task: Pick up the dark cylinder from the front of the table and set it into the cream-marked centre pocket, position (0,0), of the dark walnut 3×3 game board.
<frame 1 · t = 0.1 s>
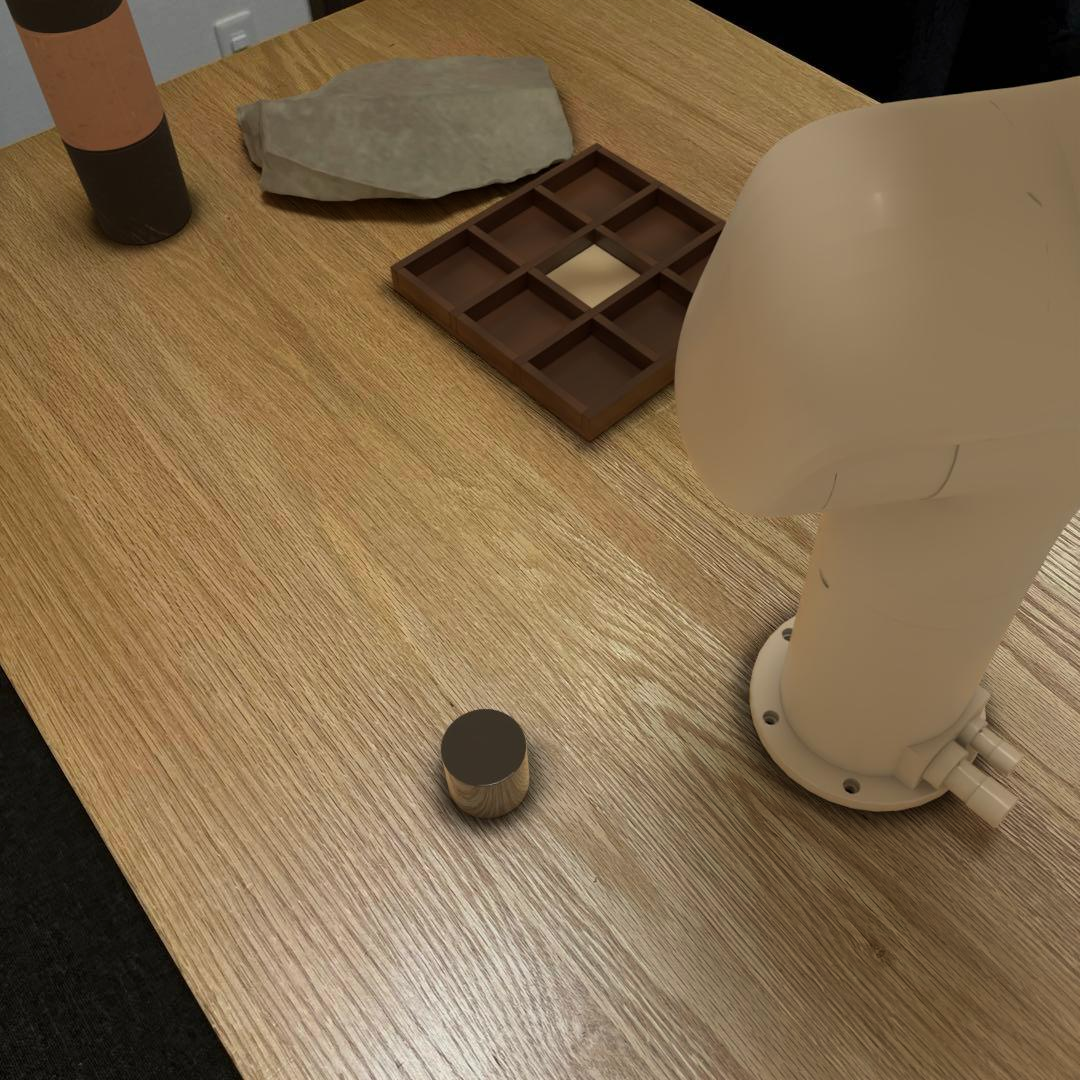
dark cylinder: (488, 780, 64), on the table
travel mug: (147, 217, 94), on the table
rock: (407, 151, 98), on the table
board: (593, 290, 87), on the table
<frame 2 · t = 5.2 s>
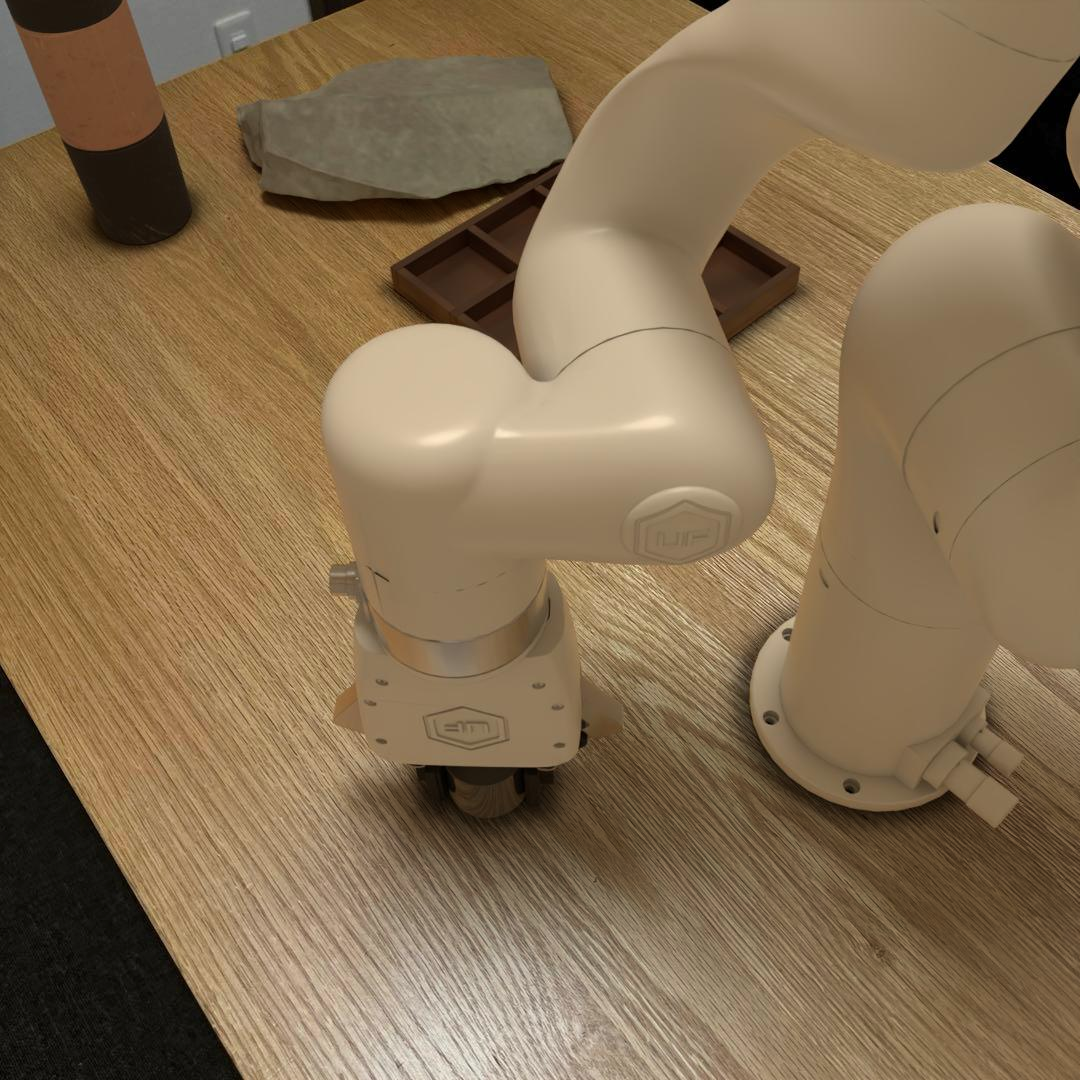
hand: (488, 777, 64), 0 cm above the table, tool pointing down, fingers closed on dark cylinder, 4 cm apart
dark cylinder: (488, 780, 64), on the table, touching gripper
everything else where it was.
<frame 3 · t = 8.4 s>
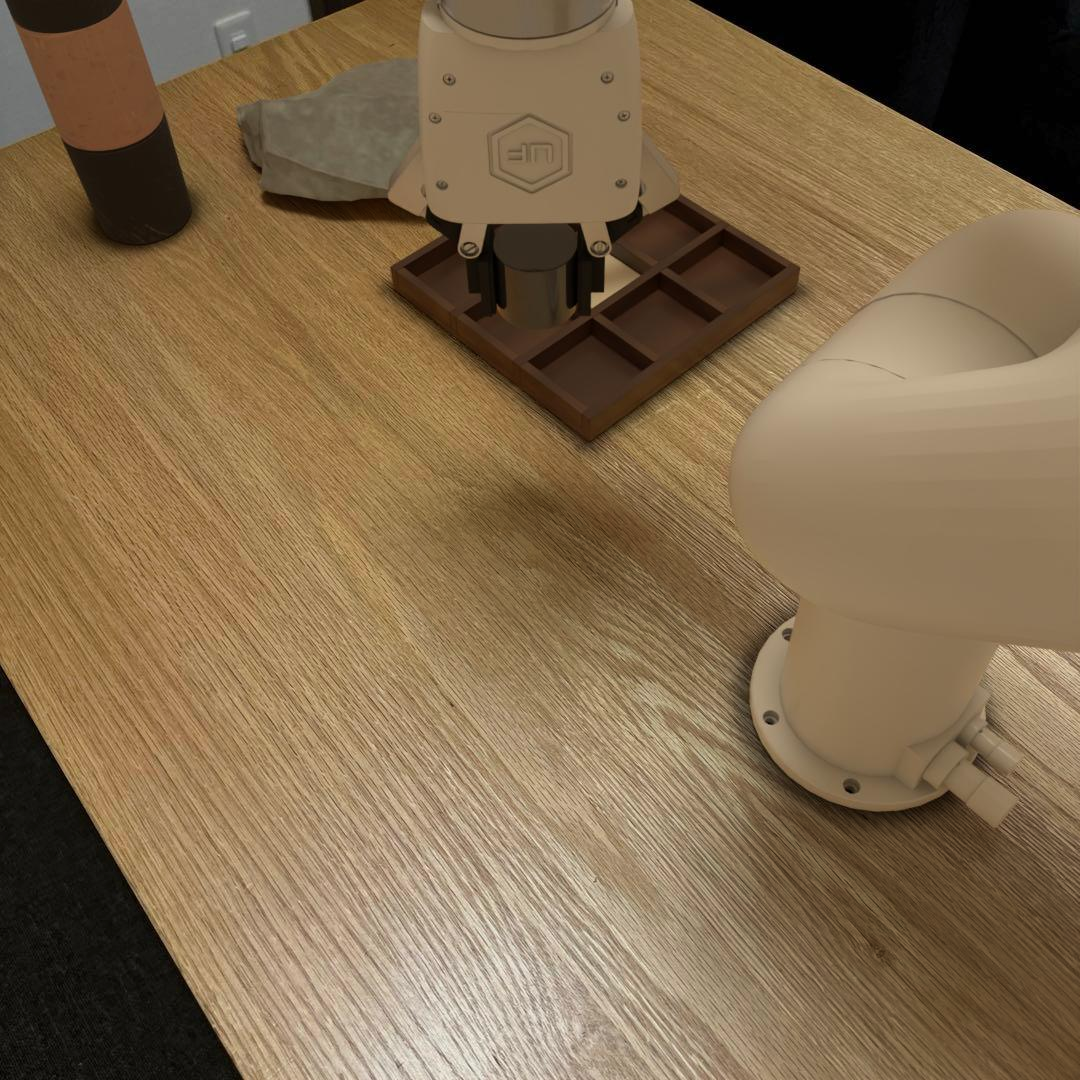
hand: (537, 296, 64), 16 cm above the table, tool pointing down, fingers closed on dark cylinder, 4 cm apart
dark cylinder: (537, 301, 64), point 15 cm above the table, touching gripper
everything else where it was.
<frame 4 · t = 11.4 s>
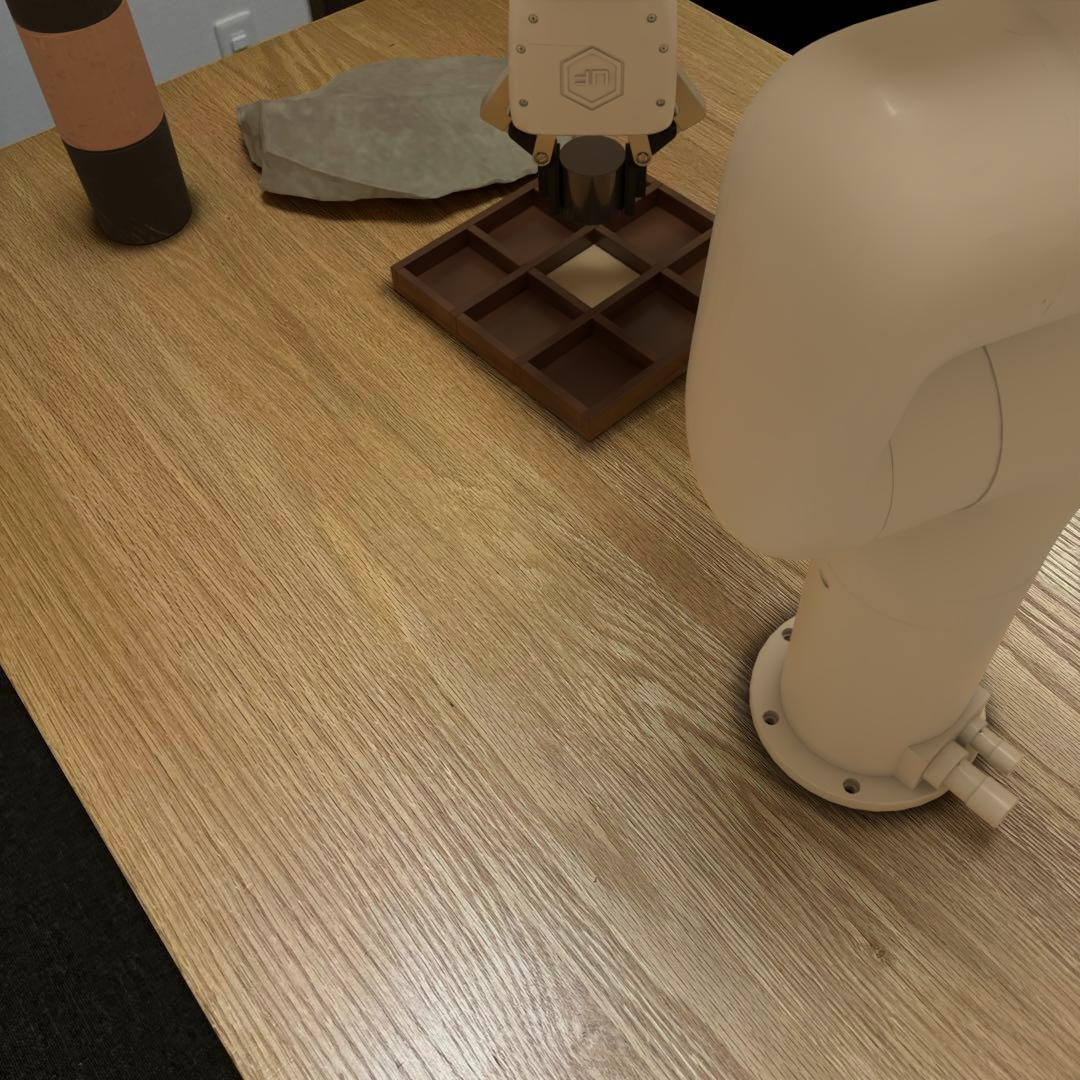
hand: (592, 200, 81), 8 cm above the table, tool pointing down, fingers closed on dark cylinder, 4 cm apart
dark cylinder: (592, 204, 81), point 7 cm above the table, touching gripper
everything else where it was.
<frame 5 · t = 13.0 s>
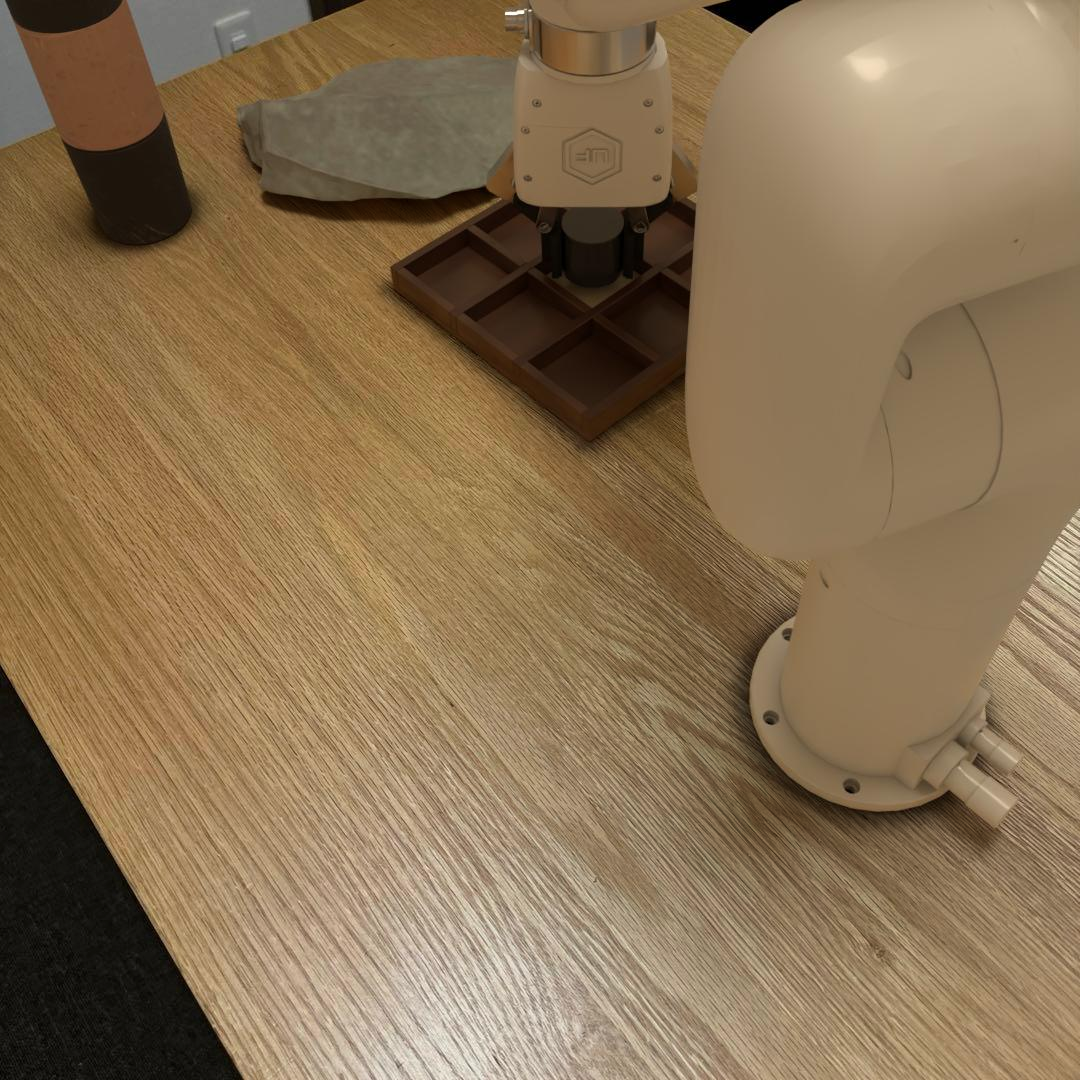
hand: (592, 263, 85), 2 cm above the table, tool pointing down, fingers closed on dark cylinder, 4 cm apart
dark cylinder: (592, 267, 85), point 2 cm above the table, touching gripper
everything else where it was.
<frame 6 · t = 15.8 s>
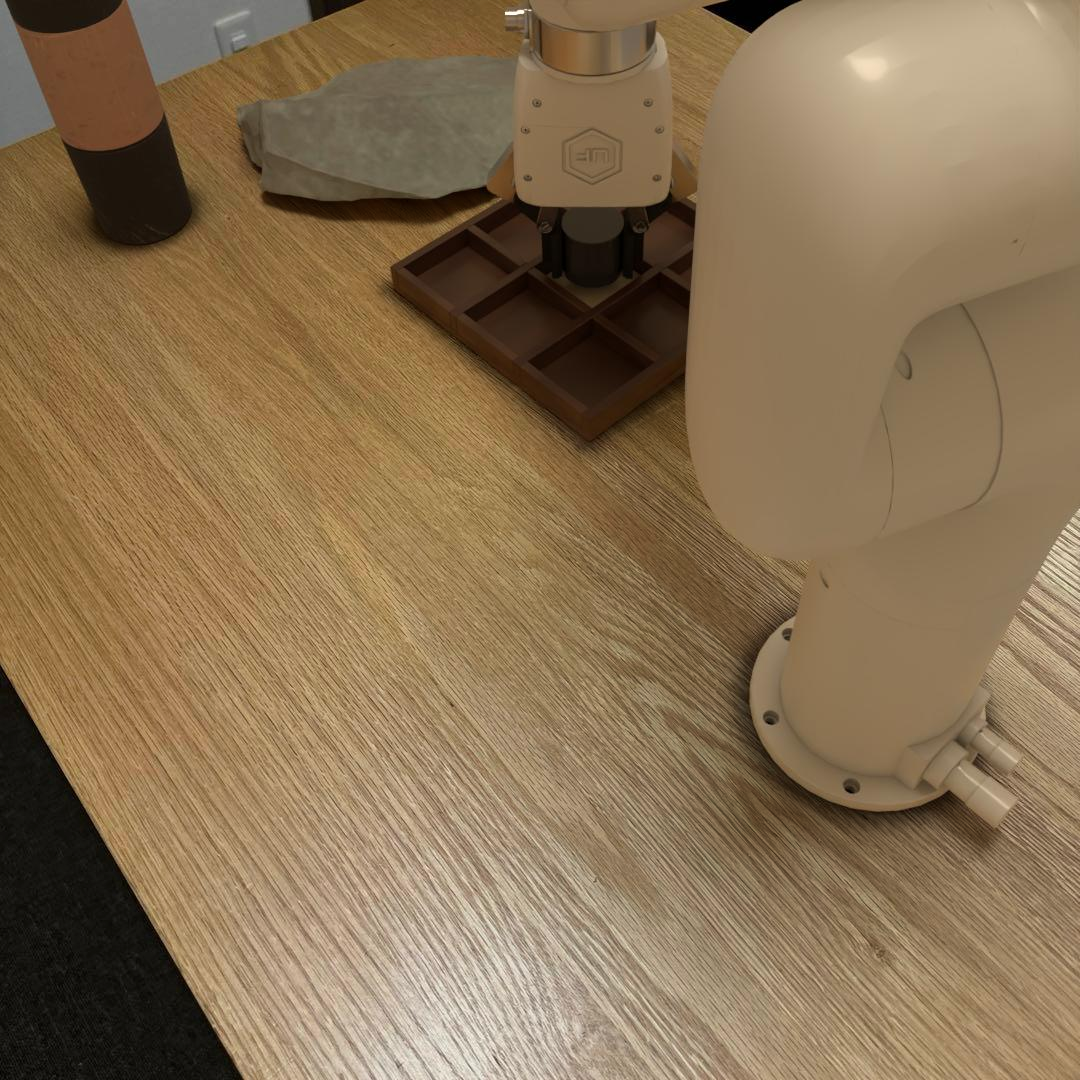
hand: (592, 263, 85), 2 cm above the table, tool pointing down, fingers closed on dark cylinder, 4 cm apart
dark cylinder: (592, 267, 85), point 2 cm above the table, touching gripper
everything else where it was.
when the fingers open (3 cm above the table, at t = 18.0 s): dark cylinder drops 2 cm, resting on board.
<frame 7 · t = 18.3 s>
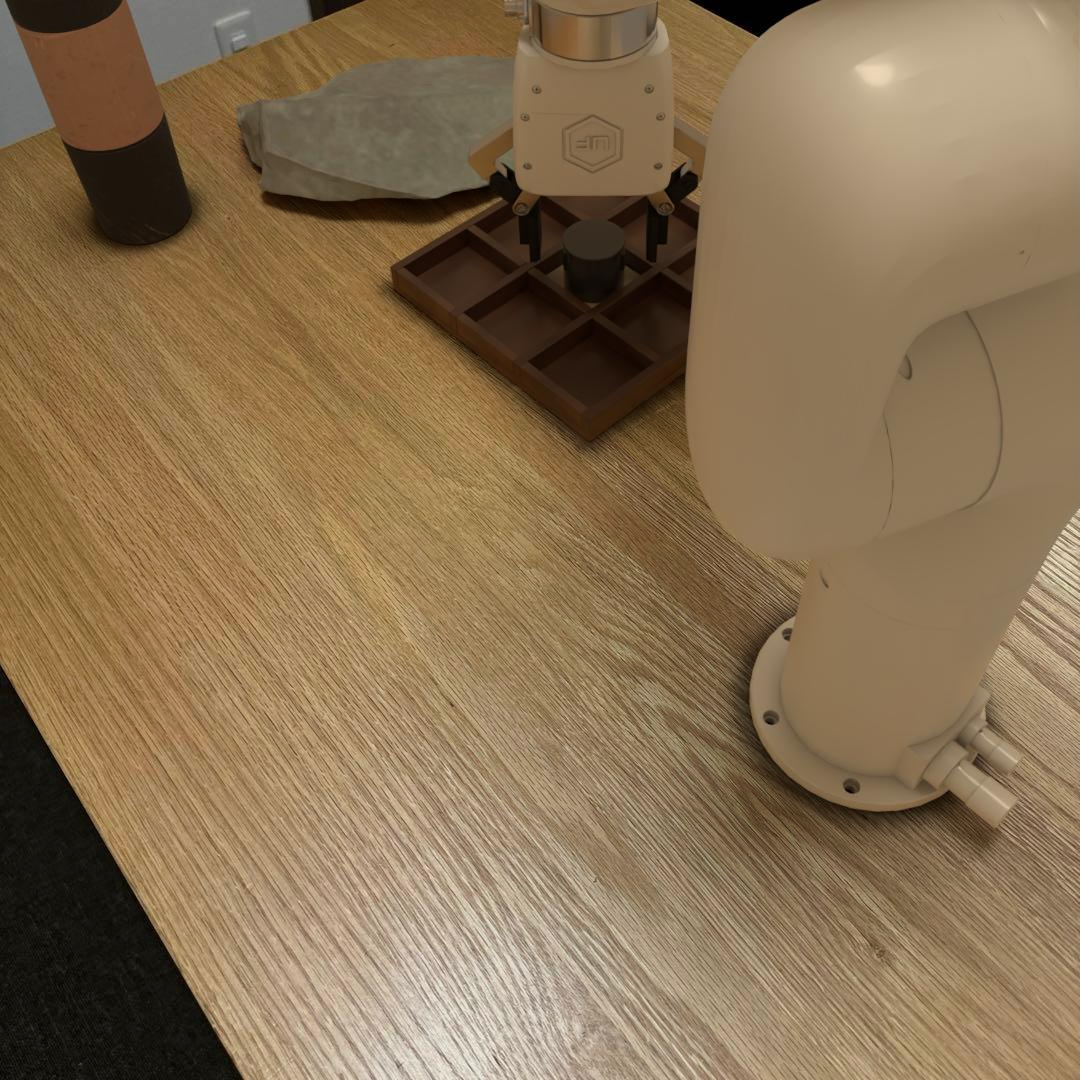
hand: (593, 248, 84), 4 cm above the table, tool pointing down, fingers open, 7 cm apart
dark cylinder: (593, 282, 86), point 1 cm above the table, touching board
everything else where it was.
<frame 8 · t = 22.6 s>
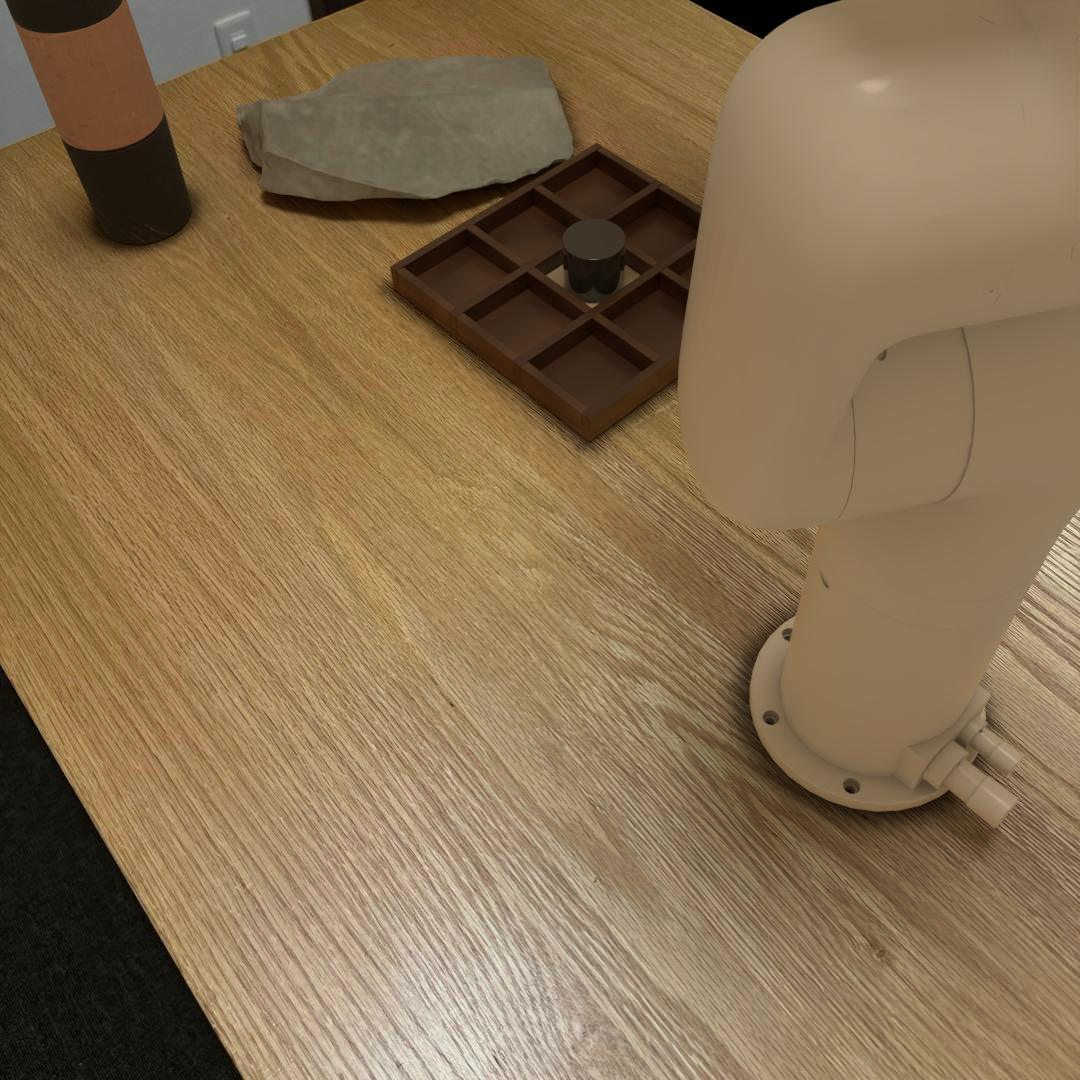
nothing on the table moved.
at the end: dark cylinder 0.1 cm off-centre in the board, point 0.8 cm above the board's base; dark cylinder tilted 0° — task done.
